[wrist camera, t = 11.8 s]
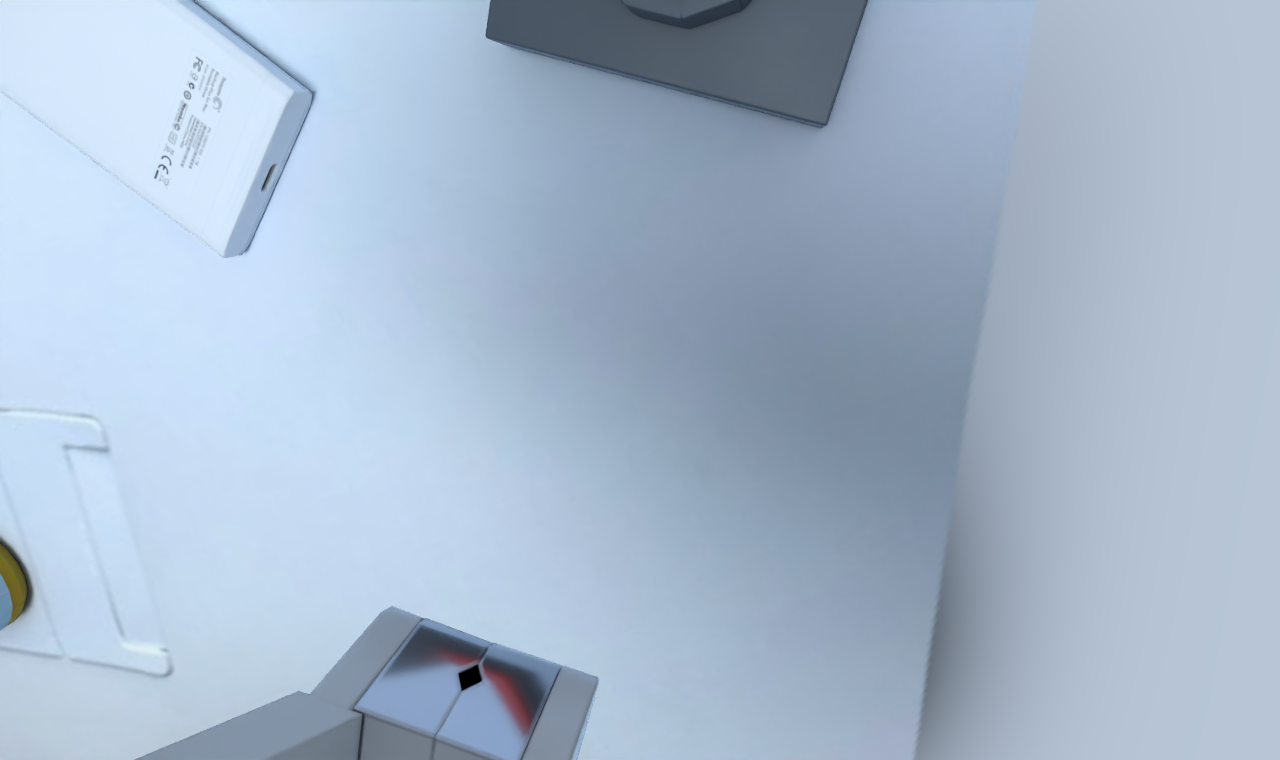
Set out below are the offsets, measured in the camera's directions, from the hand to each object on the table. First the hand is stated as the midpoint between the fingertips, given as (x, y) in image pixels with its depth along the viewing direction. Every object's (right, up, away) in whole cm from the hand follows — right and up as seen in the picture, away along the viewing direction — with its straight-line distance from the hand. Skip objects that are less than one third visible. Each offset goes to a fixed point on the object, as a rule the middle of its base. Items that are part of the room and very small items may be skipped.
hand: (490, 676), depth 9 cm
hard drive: (-18, +16, +20) cm, 31 cm away
